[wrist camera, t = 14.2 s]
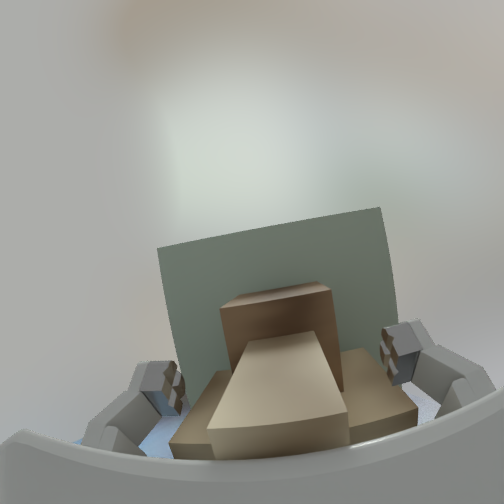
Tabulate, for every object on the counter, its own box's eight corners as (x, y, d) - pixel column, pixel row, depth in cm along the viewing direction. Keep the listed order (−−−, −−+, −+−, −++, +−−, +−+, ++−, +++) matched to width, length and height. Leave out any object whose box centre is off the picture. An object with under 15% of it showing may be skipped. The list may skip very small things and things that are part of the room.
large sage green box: (215, 483, 24) (157, 248, 26) (232, 432, 36) (195, 252, 37) (399, 456, 22) (380, 206, 24) (372, 410, 34) (350, 224, 35)
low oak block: (232, 573, 11) (168, 443, 12) (249, 494, 22) (216, 370, 23) (393, 553, 10) (418, 407, 10) (367, 477, 21) (363, 347, 21)
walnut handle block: (200, 518, 6) (142, 360, 7) (252, 367, 22) (238, 294, 22) (389, 498, 6) (392, 323, 6) (327, 355, 22) (316, 281, 22)
